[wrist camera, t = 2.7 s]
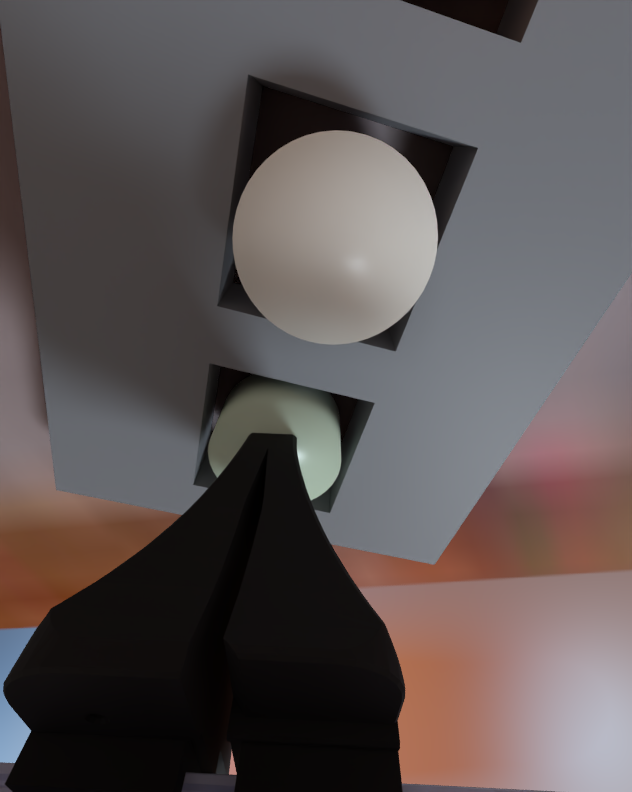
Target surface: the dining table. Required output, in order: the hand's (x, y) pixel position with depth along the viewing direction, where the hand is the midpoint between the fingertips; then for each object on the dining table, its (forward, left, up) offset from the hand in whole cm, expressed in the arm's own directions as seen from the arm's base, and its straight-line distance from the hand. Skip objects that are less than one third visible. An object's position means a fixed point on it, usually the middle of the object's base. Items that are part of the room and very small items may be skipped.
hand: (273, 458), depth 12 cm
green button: (0, 0, -2) cm, 2 cm away
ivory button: (0, -7, -1) cm, 7 cm away
